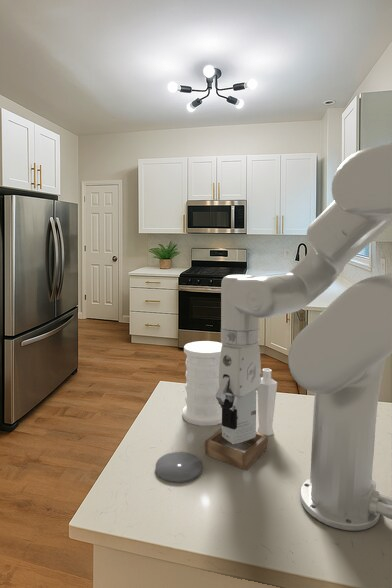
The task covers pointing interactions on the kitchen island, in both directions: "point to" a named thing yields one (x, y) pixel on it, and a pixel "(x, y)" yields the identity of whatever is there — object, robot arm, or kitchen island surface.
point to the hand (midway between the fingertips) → (238, 419)
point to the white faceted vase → (266, 402)
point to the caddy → (234, 456)
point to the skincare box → (243, 419)
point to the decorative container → (202, 383)
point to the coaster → (178, 467)
